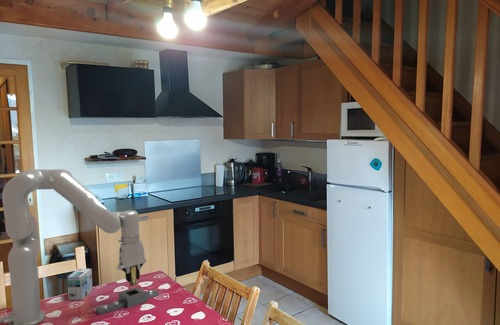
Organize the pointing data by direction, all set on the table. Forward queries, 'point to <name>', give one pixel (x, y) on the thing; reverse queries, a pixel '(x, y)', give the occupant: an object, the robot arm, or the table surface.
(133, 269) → the brass pin
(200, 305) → the table surface
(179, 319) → the table surface
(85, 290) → the light bulb box
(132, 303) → the grey slotted base plate
